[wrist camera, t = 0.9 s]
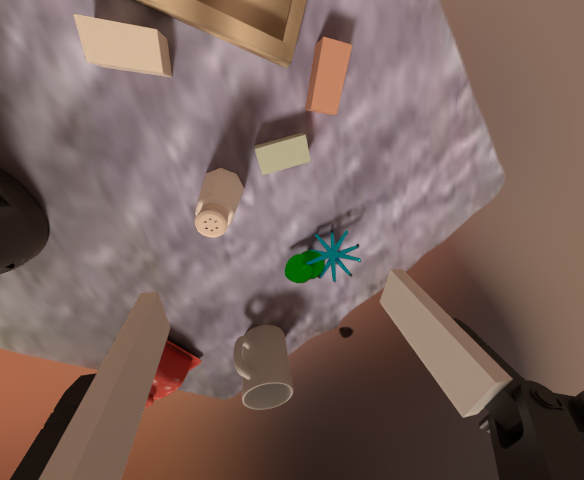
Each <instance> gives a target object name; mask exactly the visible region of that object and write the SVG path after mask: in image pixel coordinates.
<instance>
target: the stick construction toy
mask: <svg viewBox="0 0 584 480" xmlns="http://www.w3.org/2000/svg"><path fill="white" fill-rule="evenodd" d="M330 232H331V248H330V247H329V246H328V245H327V244H326V243H325V242H324V241H323V240H322V239H321V238H320V237H319V236H318V235H317V234H315V236H316V238H317V239H318V240H319V241H320V243H321V244H322V245H323V247H324V248H325V249H326V250H327V252H323V251H317V250H312V249H310V248H308V251H305V252H303V253H302V254H297V255H294V256H293V257H291V258H290V259H289V261H288V262H287V264H286V267H285V276H286V277H287V278H288V279H289V280H290V281H292V282H295V283H305V282H307V281H308V280H310V279H315V278H317V277H318V278H319V279H321V278H322V276H323V275H324V273H325V272H326V271H327V269H328V268H329V267H330V265H331V269H332V278H333V282H336V266H335V264H338V265H339V266H340V267H341V268H342V269H343V270H344V271H345V272H346V273H347V274H348V275H349V276H350V277H352V274H351V273H350V272H349V271H348V269H347V268H346V267H345V266H344V264H343V263H342V262H341V260H340V259H339V258H343V259H349V260H354V261H358V262H361V259H360V258H356V257H353V256H349V255H345V254H346V253H348V252H350V251H353V250H355V249H357V248H359V244H357V245H356V246H353V247H350V248H347V249H345V250H342V251H339V252H337V251H338V249H339V247H340V246H341V244H342V242H343V240H344V239H345V237H346V235H348V231H345V232H344V234H343V235H342V237H341V238H340V239H339V241H338V242H337V243H336V245H335V241H334V233H333V230H330ZM327 258H329V260H328V261H327V263H326V265H325V259H327Z"/></svg>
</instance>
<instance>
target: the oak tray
mask: <svg viewBox="0 0 584 480" xmlns="http://www.w3.org/2000/svg"><path fill="white" fill-rule="evenodd" d="M134 1H137V2H139V3H141V4H143V5H146V6H148V7H150V8H152V9H155V10H157V11H159V12H161V13H164V14H166V15H168V16H170V17H173V18H175V19H177V20H179V21H182V22H184V23H186V24H188V25H191V26H193V27H195V28H197V29H200V30H202V31H204V32H206V33H209V34H211V35H213V36H215V37H218V38H220V39H222V40H224V41H227V42H229V43H231V44H233V45H236V46H238V47H240V48H242V49H245V50H247V51H249V52H251V53H254V54H256V55H258V56H260V57H262V58H265V59H267V60H269V61H271V62H274V63H276V64H278V65H280V66H283V67H285V68H287V67H288V66H289V65H290V63H291V61H292V57H293V53H294V49H295V45H296V41H297V37H298V33H299V29H300V26H301V22H302V18H303V14H304V10H305V6H306V2H307V0H134Z"/></svg>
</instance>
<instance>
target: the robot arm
mask: <svg viewBox="0 0 584 480" xmlns="http://www.w3.org/2000/svg"><path fill="white" fill-rule="evenodd" d="M47 239H48V226H47V222H46V219H45V216H44V214H43V212H42V210H41V208H40V207H39V205H38V204H37V202H36V201H35V200H34V198H33V197H32V196H31V195H30V194H29V193H28V192H27V191H26V190H25V189H24V188H23V187H22V186H21V185H20V184H19V183H18V182H17V181H16V180H14V179H13V178H12V177H10V176H9V175H8V174H6V173H5V172H4V171H2V170H0V274H2V273H5V272H8V271H11V270H14V269H16V268H18V267H20V266H21V265H23V264H24V263H26V262H27V261H29V260H30V259H32V258H33V257H35V256H36V255H38V254H39V253H40V252H41V251H42V250H43V248H44V247H45V245H46V242H47ZM380 303H381V304H382V306H383V307H384V309H385V310H386V312H387V313H388V314H389V316H390V317H391V319H392V320H393V321H394V323H395V324H396V325H397V327H398V328H399V330H400V331H401V332H402V334H403V335H404V337H405V338H406V339H407V341H408V342H409V344H410V345H411V346H412V348H413V349H414V350H415V352H416V353H417V355H418V356H419V357H420V358H421V360H422V362H423V363H424V364H425V366H426V367H427V368H428V370H429V371H430V372H431V374H432V375H433V377H434V378H435V380H436V381H437V382H438V384H439V385H440V387H441V388H442V389H443V391H444V392H445V393H446V395H447V396H448V398H449V399H450V400H451V402H452V403H453V404H454V406H455V407H456V409H457V410H458V411H459V413H460V414H461V416H462V417H467V416H471V415H475V414H478V413H479V412H480V411H481V410H482V409H483V408H484V407H485V408H486V409H487V410H488V411H489V414H488V415H487V416H485V417H484V418H483V420H481V421H480V422H479V428H481V429H483V428H484V427H485V426H486V425H487V424H489V428H488V429H487V432H488V433H490V434H491V439H492V445H493V450H494V455H495V460H496V465H497V471H498V476H499V480H584V391H582V392H581V393H579V394H578V395H577V396H568V395H563V394H557V393H553V392H552V391H550V390H549V389H548V388H546V387H544V386H543V385H541V384H539V383H536V382H533V381H526V380H525V379H524V378H522V377H521V376H520V375H519V374H518V373H517V372H516V371H515V370H514V369H513V368H512V367H510V366H509V365H508V364H507V363H506V362H505V361H504V360H503V359H502V358H501V357H500V356H499V355H498V354H497V353H496V352H495V351H494V350H493V349H491V348H490V347H489V346H488V345H486V343H485V342H484V341H483V340H482V339H481V338H480V337H478V335H477V334H476V333H475V332H474V331H473V330H472V329H471V328H470V327H468V326H467V325H466V324H464V323H463V322H461V321H460V320H458V319H456V318H454V319H452V318H451V317H450V316H449V315H448V314H447V313H446V312H445V311H444V310H443V309H442V308H441V307H439V305H438V304H437V303H436V302H434V300H432V298H430V296H429V295H427V294H426V293H425V292H424V291H423V290H422V289H421V288H420V287H419V286H418V285H417V284H416V283H415V282H414V281H413V280H412V279H411V278H410V277H409V276H408V275H407V274H406V273H405V272H404V271H403V270H402V269H396V270H391V271H390V274H389V276H388V279H387V282H386V285H385V288H384V291H383V294H382V297H381V300H380ZM169 331H170V325H169V322H168V320H167V317H166V314H165V311H164V308H163V305H162V302H161V300H160V297H159V294H158V292H151V293H141V294H140V296H139V298H138V300H137V301H136V303H135V305H134V307H133V309H132V310H131V312H130V314H129V316H128V318H127V320H126V321H125V323H124V325H123V327H122V329H121V331H120V332H119V334H118V336H117V338H116V340H115V341H114V343H113V345H112V347H111V349H110V351H109V352H108V354H107V356H106V358H105V360H104V361H103V363H102V365H101V367H100V369H99V371H98V372H97V373H96V374H89V375H83V376H80V377H79V378H78V379H77V380H76V381H75V382H74V383H73V384H72V385H71V386H70V387H69V388H68V389H67V390H66V391H65V393H64V394H63V396H62V398H61V399H60V401H59V402H58V404H57V405H56V407H55V409H54V412H53V413H51V415H50V417H49V418H48V420H47V421H46V423H45V425H44V428H43V429H41V431H40V432H39V434H38V436H37V437H36V439H35V440H34V442H33V444H32V445H31V447H30V448H29V450H28V452H27V453H26V455H25V456H24V458H23V460H22V461H21V463H20V464H19V466H18V467H17V469H16V471H15V472H14V474H13V476H12V477H11V479H10V480H121V479H122V475H123V472H124V469H125V466H126V463H127V460H128V457H129V454H130V451H131V448H132V445H133V442H134V438H135V436H136V432H137V429H138V426H139V423H140V420H141V417H142V414H143V411H144V408H145V405H146V402H147V399H148V396H149V393H150V389H151V386H152V383H153V380H154V377H155V374H156V371H157V368H158V365H159V362H160V359H161V356H162V353H163V350H164V346H165V343H166V340H167V337H168V334H169Z"/></svg>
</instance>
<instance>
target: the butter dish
mask: <svg viewBox="0 0 584 480" xmlns="http://www.w3.org/2000/svg"><path fill="white" fill-rule="evenodd" d="M200 363H201V360H200V359H199V358H197V357H196V356H194V355H192V354H190V353H189V352H187V351H185V350H183V349H182V348H180V347H178V346H177V345H175V344H173V343H172V342H170V341H168V340H166V343H165V346H164V350H163V353H162V356H161V359H160V362H159V365H158V368H157V371H156V374H155V377H154V380H153V383H152V386H151V389H150V393H149V396H148V399H147V402H146V405H145V407H148V406H150V405H152V404H153V402H154V400H157V399H160V398H163V397H165V396H167V395H169V394H171V393H172V392H174V391H175V390H177V389H178V388H179V387H180V386H181V385H182V383H183V381H184V379H185V377H186V375H187V373H188V371H189V370H191V369H193V368H194V367H196V366H197V365H199V364H200Z"/></svg>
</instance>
